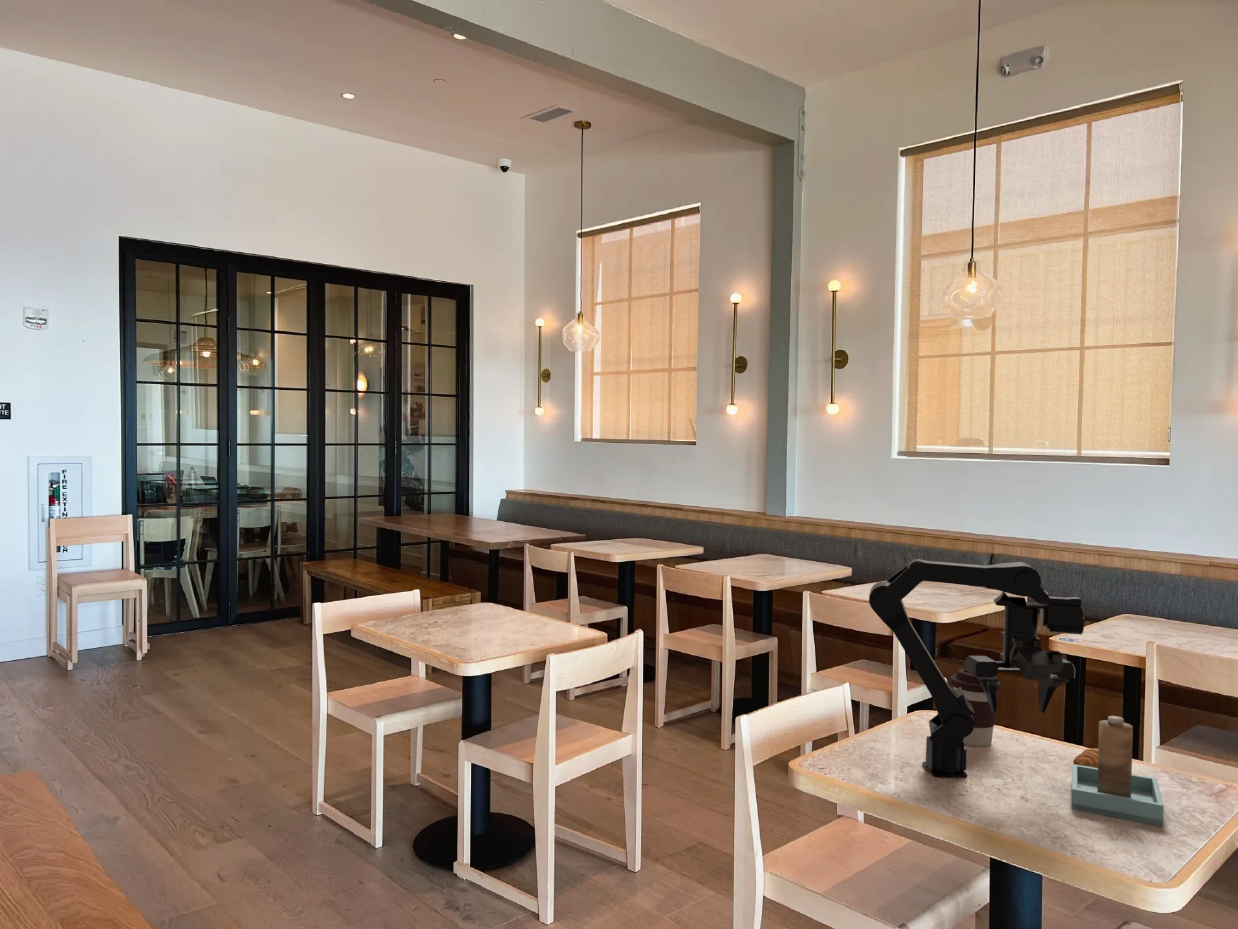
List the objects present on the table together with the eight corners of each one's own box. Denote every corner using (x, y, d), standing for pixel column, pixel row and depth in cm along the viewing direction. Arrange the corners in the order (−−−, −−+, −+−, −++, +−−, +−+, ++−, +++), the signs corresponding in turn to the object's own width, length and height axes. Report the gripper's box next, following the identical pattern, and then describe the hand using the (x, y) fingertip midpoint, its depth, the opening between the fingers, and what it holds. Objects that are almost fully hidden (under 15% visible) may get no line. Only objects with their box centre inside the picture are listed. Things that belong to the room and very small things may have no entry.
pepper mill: (1119, 805, 151) (1121, 724, 151) (1090, 794, 155) (1092, 715, 155) (1137, 800, 153) (1139, 720, 153) (1108, 789, 158) (1110, 712, 158)
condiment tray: (1071, 808, 152) (1072, 789, 151) (1071, 782, 164) (1072, 764, 163) (1162, 826, 145) (1163, 805, 145) (1156, 797, 157) (1156, 778, 157)
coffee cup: (993, 753, 178) (996, 681, 178) (943, 743, 184) (945, 673, 183) (1002, 739, 187) (1004, 670, 186) (954, 730, 192) (956, 663, 192)
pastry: (1094, 779, 166) (1095, 759, 166) (1062, 767, 172) (1063, 747, 172) (1126, 771, 170) (1126, 752, 170) (1094, 760, 176) (1094, 741, 176)
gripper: (990, 639, 155) (988, 725, 155) (1093, 640, 155) (1090, 727, 156) (964, 625, 166) (962, 706, 167) (1060, 627, 167) (1058, 707, 167)
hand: (1017, 712), depth 164 cm, fingers open, 9 cm apart
